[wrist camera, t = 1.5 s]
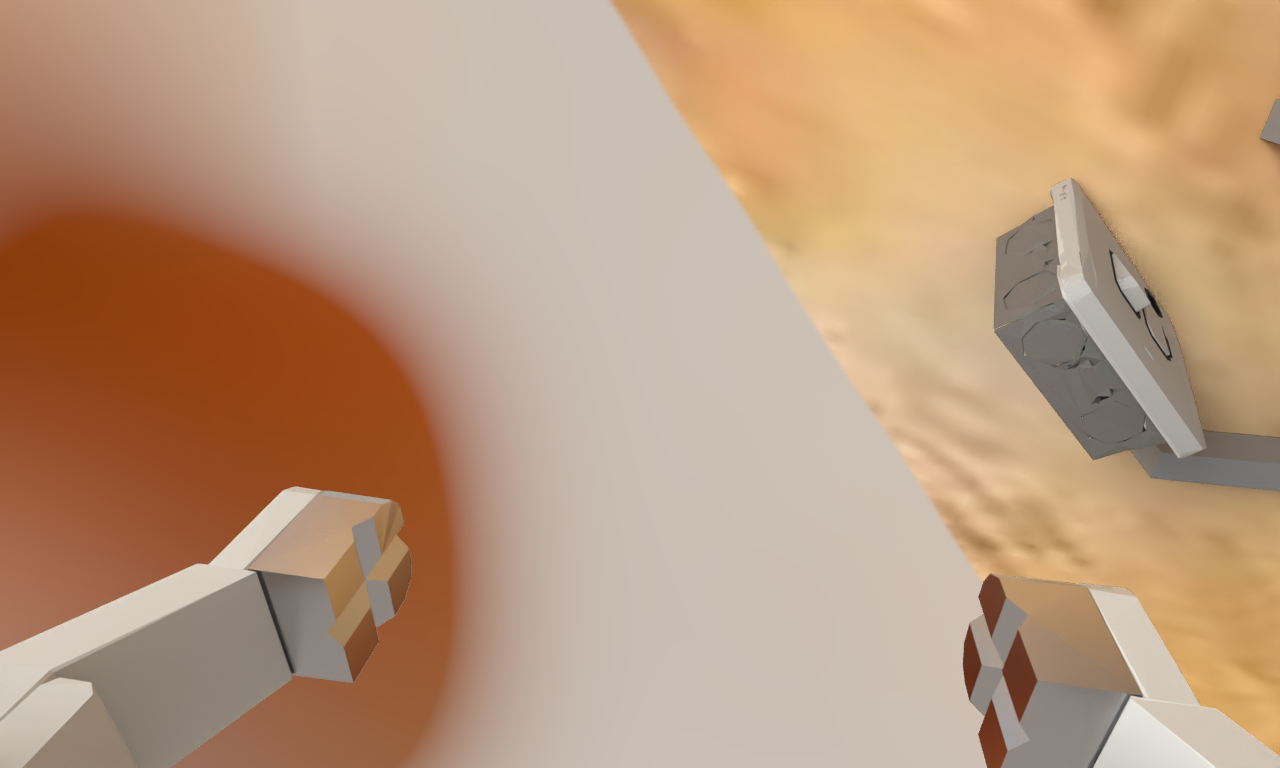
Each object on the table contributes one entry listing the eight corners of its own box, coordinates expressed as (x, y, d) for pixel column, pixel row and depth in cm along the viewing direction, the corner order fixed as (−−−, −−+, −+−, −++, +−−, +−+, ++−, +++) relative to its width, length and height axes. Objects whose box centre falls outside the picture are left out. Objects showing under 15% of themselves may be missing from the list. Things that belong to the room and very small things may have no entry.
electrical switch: (1170, 321, 33) (1263, 438, 26) (1060, 375, 36) (1114, 495, 29) (1067, 168, 31) (1135, 247, 24) (956, 238, 34) (986, 329, 26)
